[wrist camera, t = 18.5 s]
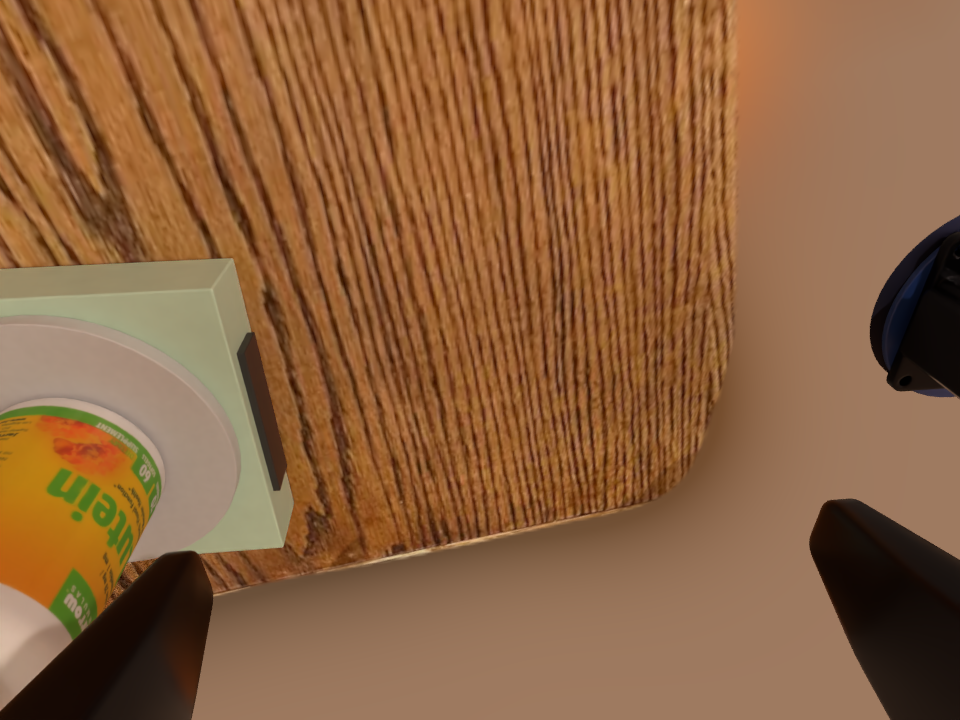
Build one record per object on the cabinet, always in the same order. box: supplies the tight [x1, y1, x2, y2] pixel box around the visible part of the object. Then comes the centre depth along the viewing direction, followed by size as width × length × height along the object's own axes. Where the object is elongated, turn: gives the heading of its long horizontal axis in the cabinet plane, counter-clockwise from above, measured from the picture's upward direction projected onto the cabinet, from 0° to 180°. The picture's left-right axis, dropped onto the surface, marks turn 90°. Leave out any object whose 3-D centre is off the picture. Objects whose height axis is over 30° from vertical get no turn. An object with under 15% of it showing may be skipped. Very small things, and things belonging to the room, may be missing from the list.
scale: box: [0, 258, 294, 563], centre depth 21 cm, size 11×11×3 cm
